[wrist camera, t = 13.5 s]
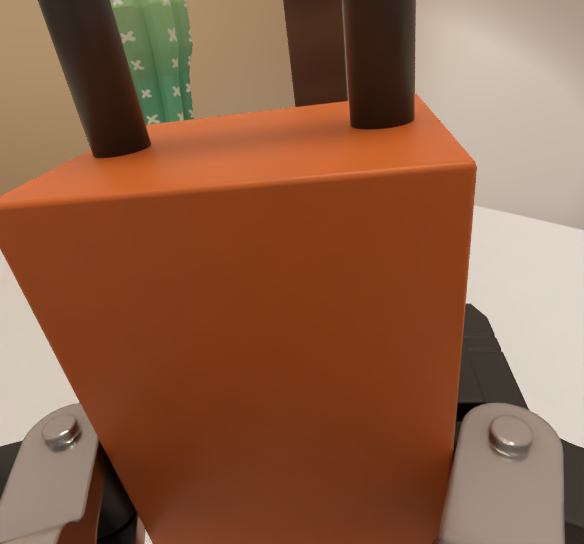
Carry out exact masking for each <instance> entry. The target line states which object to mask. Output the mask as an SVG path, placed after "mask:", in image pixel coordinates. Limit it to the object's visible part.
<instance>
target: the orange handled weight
mask: <svg viewBox="0 0 584 544" xmlns="http://www.w3.org/2000/svg"><path fill="white" fill-rule="evenodd" d="M38 2H39V5H40V8H41V10H42V13H43V16H44V19H45V22H46V24H47V27H48V30H49V33H50V36H51V38H52V41H53V44H54V47H55V50H56V53H57V55H58V58H59V61H60V64H61V67H62V70H63V72H64V75H65V78H66V81H67V84H68V86H69V89H70V92H71V95H72V98H73V100H74V103H75V106H76V109H77V112H78V114H79V117H80V120H81V123H82V126H83V128H84V131H85V134H86V137H87V140H88V142H89V145H90V148H91V150H90V151H88V152H86V153H84V154H82V155H80V156H78V157H76V158H75V159H72V160H70V161H68V162H67V163H65V164H63V165H61V166H59V167H57V168H55V169H53V170H51V171H49V172H47V173H45V174H43V175H41V176H39V177H37V178H35V179H33V180H31V181H29V182H27V183H25V184H23V185H21V186H19V187H18V188H15V189H13V190H11V191H9V192H7V193H6V194H4V195H2V196H0V249H1V251H2V253H3V255H4V257H5V258H6V260H7V262H8V264H9V266H10V268H11V270H12V272H13V274H14V276H15V278H16V280H17V282H18V284H19V286H20V287H21V289H22V291H23V293H24V295H25V297H26V299H27V301H28V303H29V305H30V307H31V309H32V311H33V313H34V315H35V317H36V318H37V320H38V322H39V324H40V326H41V328H42V330H43V332H44V334H45V336H46V338H47V340H48V342H49V344H50V346H51V347H52V349H53V351H54V353H55V355H56V357H57V359H58V361H59V363H60V365H61V367H62V369H63V371H64V373H65V375H66V376H67V378H68V380H69V382H70V384H71V386H72V388H73V390H74V392H75V394H76V396H77V398H78V400H79V402H80V404H81V405H82V407H83V409H84V411H85V413H86V415H87V417H88V419H89V421H90V423H91V425H92V427H93V429H94V431H95V433H96V434H97V436H98V438H99V440H100V442H101V444H102V446H103V448H104V450H105V452H106V454H107V456H108V458H109V460H110V462H111V463H112V465H113V467H114V469H115V471H116V473H117V475H118V477H119V479H120V481H121V483H122V485H123V487H124V489H125V491H126V492H127V494H128V496H129V498H130V500H131V502H132V504H133V506H134V508H135V510H136V512H137V514H138V516H139V518H140V520H141V521H142V523H143V525H144V527H145V529H146V531H147V533H148V535H149V537H150V539H151V541H152V543H153V544H432V543H433V540H434V539H436V537H437V534H438V530H439V525H440V521H441V516H442V512H443V507H444V502H445V498H446V493H447V488H448V484H449V479H450V474H451V470H452V461H453V449H454V437H455V425H456V413H457V401H458V389H459V376H460V364H461V352H462V340H463V328H464V316H465V304H466V292H467V280H468V268H469V255H470V243H471V231H472V219H473V207H474V194H475V183H476V170H477V166H476V164H475V161H474V160H473V159H472V158H471V157H470V155H469V154H468V153H467V152H466V151H465V149H464V148H463V147H462V146H461V145H460V144H459V143H458V141H457V140H456V139H455V138H454V137H453V136H452V134H451V133H450V132H449V131H448V130H447V129H446V128H445V126H444V125H443V124H442V123H441V122H440V120H439V119H438V118H437V117H436V116H435V115H434V113H433V112H432V111H431V110H430V109H429V108H428V107H427V105H426V104H425V103H424V102H423V101H422V100H421V98H420V97H419V96H418V95H417V94H415V14H416V13H415V12H416V0H343V12H344V28H345V45H346V61H347V78H348V94H349V101H344V102H336V103H327V104H319V105H310V106H302V107H294V108H285V109H277V110H268V111H259V112H251V113H242V114H234V115H225V116H217V117H208V118H200V119H191V120H183V121H174V122H166V123H157V124H149V125H146V124H145V121H144V117H143V114H142V110H141V107H140V103H139V100H138V96H137V93H136V89H135V86H134V82H133V79H132V75H131V72H130V68H129V65H128V61H127V58H126V54H125V51H124V47H123V44H122V40H121V37H120V33H119V30H118V26H117V23H116V19H115V16H114V12H113V9H112V5H111V2H110V0H38Z"/></svg>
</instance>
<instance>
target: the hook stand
mask: <svg viewBox="0 0 584 544" xmlns="http://www.w3.org/2000/svg"><path fill="white" fill-rule="evenodd" d="M283 2H284V11H285V20H286V28H287V37H288V46H289V55H290V63H291V72H292V81H293V89H294V98H295V107H302V106H310V105H319V104H327V103H336V102H344V101H349V98H348V80H347V62H346V45H345V28H344V12H343V0H283Z"/></svg>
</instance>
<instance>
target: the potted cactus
mask: <svg viewBox="0 0 584 544" xmlns="http://www.w3.org/2000/svg"><path fill="white" fill-rule="evenodd" d="M110 2H111V5H112V9H113V12H114V16H115V19H116V23H117V26H118V30H119V33H120V37H121V40H122V44H123V47H124V51H125V54H126V58H127V61H128V65H129V68H130V72H131V75H132V79H133V82H134V86H135V89H136V93H137V96H138V100H139V103H140V107H141V110H142V114H143V117H144V121H145V124H146V125H149V124H157V123H166V122H174V121H183V120H191V119H193V109H192V99H191V88H190V79H189V69H190V62H191V53H192V38H191V32H190V26H189V19H188V12H187V7H186V1H185V0H110Z"/></svg>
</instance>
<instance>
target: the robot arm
mask: <svg viewBox="0 0 584 544" xmlns="http://www.w3.org/2000/svg"><path fill="white" fill-rule="evenodd" d="M144 542H145V527H144V525H143V523H142V521H141V520H140V518H139V516H138V514H137V512H136V510H135V508H134V506H133V504H132V502H131V500H130V498H129V496H128V494H127V492H126V491H125V489H124V487H123V485H122V483H121V481H120V479H119V477H118V475H117V473H116V471H115V469H114V467H113V465H112V463H111V462H110V460H109V458H108V456H107V454H106V452H105V450H104V448H103V446H102V444H101V442H100V440H99V438H98V436H97V434H96V433H95V431H94V429H93V427H92V425H91V423H90V421H89V419H88V417H87V415H86V413H85V411H84V409H83V407H82V405H81V404H80V403H79V404H73V405H69V406H65V407H63V408H60V409H58V410H56V411H54V412H52V413H50V414H49V415H47V416H46V417H44V418H43V419H41V420H40V421H39V422H38V423H37V424H36V425H35V426H33V427H32V429H31V430H30V431H29V432H28V433H27V435H26V436H25V438H24V440H23V441H20V442H16V443H12V444H8V445H4V446H1V447H0V544H144ZM432 544H584V448H582V447H579V446H576V445H574V444H571V443H569V442H567V441H565V440H563V439H561V438H559V436H558V435H557V433H556V431H555V430H554V429H553V428H552V427H551V425H549V424H548V423H547V422H546V421H545V420H544V419H542V418H541V417H540V416H538V415H537V414H535V413H533V412H531V411H530V410H529V409H528V407H527V405H526V402H525V400H524V398H523V396H522V394H521V391H520V389H519V387H518V385H517V383H516V380H515V378H514V376H513V374H512V372H511V369H510V367H509V365H508V363H507V361H506V358H505V356H504V354H503V352H501V347H500V345H499V343H498V341H497V339H496V338H495V334H494V332H493V330H492V328H491V325H490V323H489V321H488V319H487V317H486V316H485V315H483V314H482V313H481V312H480V311H479V310H477V309H476V308H475V307H474V306H473V305H471V304H465V316H464V328H463V340H462V352H461V364H460V376H459V389H458V401H457V413H456V425H455V437H454V449H453V461H452V470H451V474H450V479H449V484H448V488H447V493H446V498H445V502H444V507H443V512H442V516H441V521H440V525H439V530H438V534H437V537H436V539H434V540H433V543H432Z"/></svg>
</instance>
